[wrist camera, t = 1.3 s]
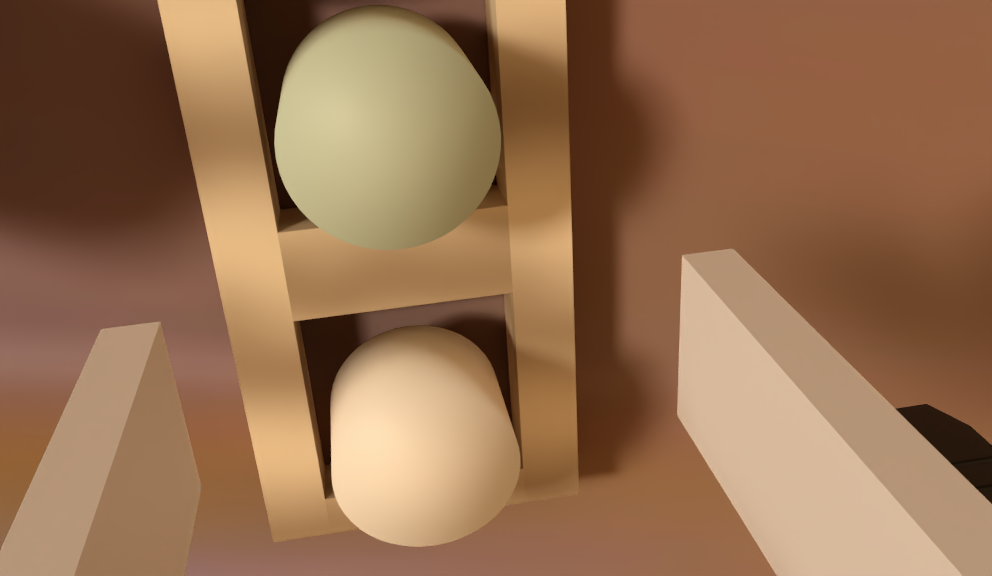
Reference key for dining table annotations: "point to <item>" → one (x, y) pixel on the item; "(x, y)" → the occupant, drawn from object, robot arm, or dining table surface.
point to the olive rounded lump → (385, 129)
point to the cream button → (420, 437)
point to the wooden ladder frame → (384, 253)
